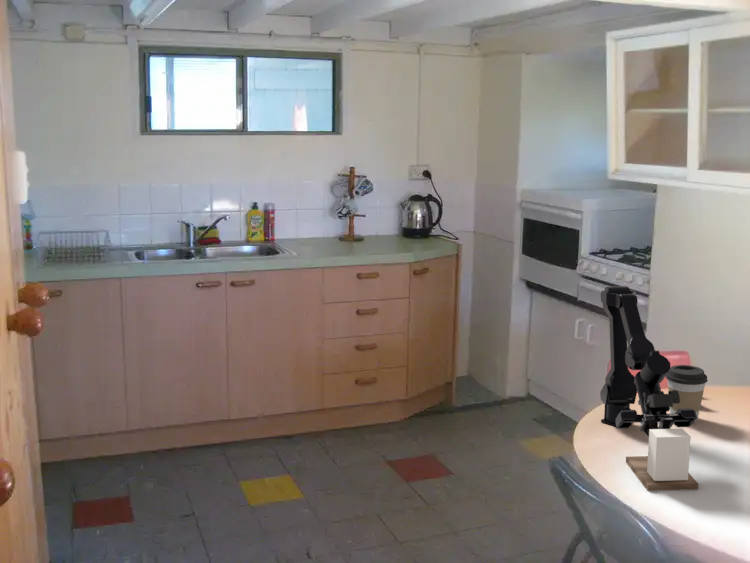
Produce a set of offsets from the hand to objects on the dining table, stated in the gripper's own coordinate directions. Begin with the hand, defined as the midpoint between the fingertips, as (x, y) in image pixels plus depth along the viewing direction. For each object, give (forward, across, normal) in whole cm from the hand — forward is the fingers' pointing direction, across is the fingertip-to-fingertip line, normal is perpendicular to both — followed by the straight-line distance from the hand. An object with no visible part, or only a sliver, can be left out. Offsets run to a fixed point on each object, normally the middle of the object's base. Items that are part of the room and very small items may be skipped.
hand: (663, 451), depth 197 cm
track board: (+4, 0, +5) cm, 7 cm away
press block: (+6, 0, +1) cm, 6 cm away
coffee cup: (-21, +20, +31) cm, 43 cm away
